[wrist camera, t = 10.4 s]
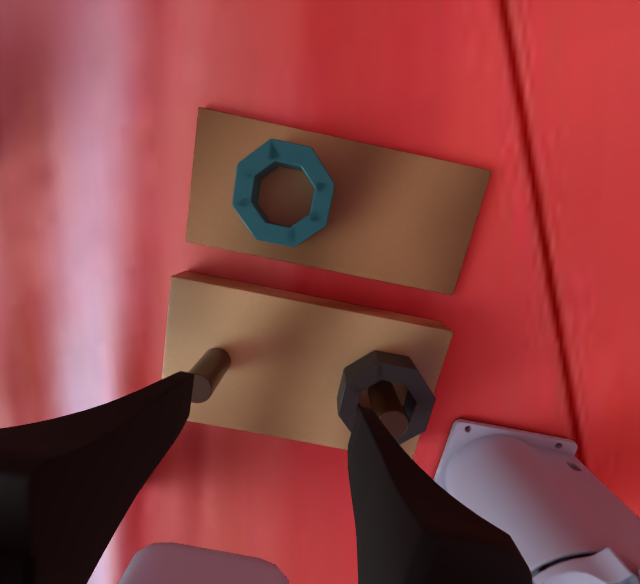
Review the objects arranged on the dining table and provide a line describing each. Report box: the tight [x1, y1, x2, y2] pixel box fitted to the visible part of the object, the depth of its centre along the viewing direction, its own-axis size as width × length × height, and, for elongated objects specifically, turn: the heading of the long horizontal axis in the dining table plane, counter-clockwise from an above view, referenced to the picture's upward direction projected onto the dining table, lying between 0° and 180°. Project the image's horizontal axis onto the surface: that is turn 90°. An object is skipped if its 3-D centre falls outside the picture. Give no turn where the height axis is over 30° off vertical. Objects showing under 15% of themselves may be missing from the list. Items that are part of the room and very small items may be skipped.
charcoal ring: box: [337, 350, 435, 445], centre depth 20 cm, size 6×6×2 cm
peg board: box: [162, 271, 453, 459], centre depth 19 cm, size 18×10×6 cm, turn 79°
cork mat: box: [186, 107, 492, 295], centre depth 19 cm, size 18×8×1 cm, turn 79°
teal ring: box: [232, 138, 335, 247], centre depth 18 cm, size 6×6×2 cm
